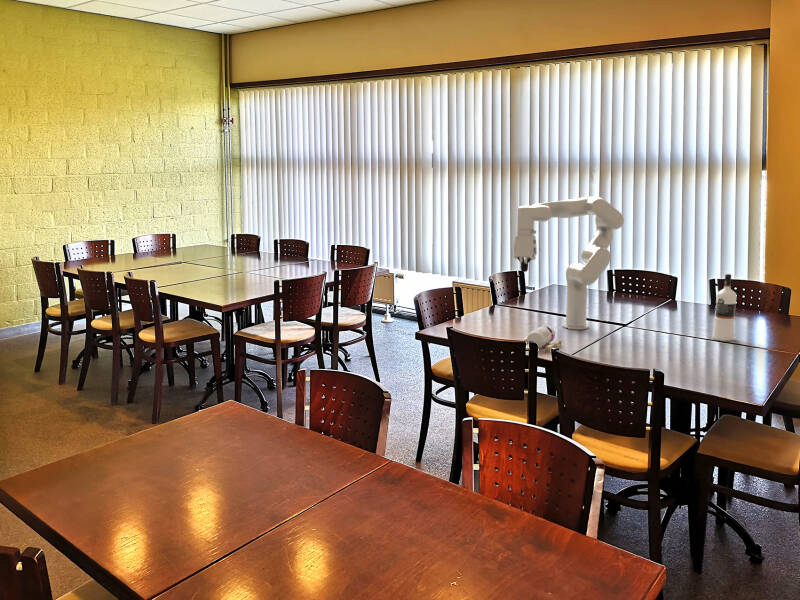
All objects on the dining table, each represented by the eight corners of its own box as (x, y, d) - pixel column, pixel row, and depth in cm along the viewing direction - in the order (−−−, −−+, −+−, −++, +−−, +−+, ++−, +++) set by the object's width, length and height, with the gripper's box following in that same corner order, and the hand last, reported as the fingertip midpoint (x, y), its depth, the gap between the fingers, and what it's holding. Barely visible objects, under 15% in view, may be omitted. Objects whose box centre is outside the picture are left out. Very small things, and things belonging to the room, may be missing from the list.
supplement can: (558, 340, 326) (546, 347, 314) (541, 343, 331) (529, 351, 318) (552, 322, 326) (540, 329, 314) (535, 326, 331) (523, 333, 318)
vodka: (738, 340, 331) (744, 275, 325) (723, 342, 327) (728, 276, 321) (722, 335, 339) (727, 272, 333) (707, 338, 336) (712, 273, 330)
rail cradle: (528, 341, 333) (528, 335, 332) (561, 345, 324) (561, 340, 324) (515, 347, 321) (515, 342, 321) (548, 352, 313) (548, 347, 312)
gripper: (543, 232, 341) (542, 271, 344) (514, 231, 349) (513, 269, 352) (536, 234, 334) (535, 273, 338) (507, 232, 343) (506, 271, 346)
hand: (524, 271), depth 345 cm, fingers closed
